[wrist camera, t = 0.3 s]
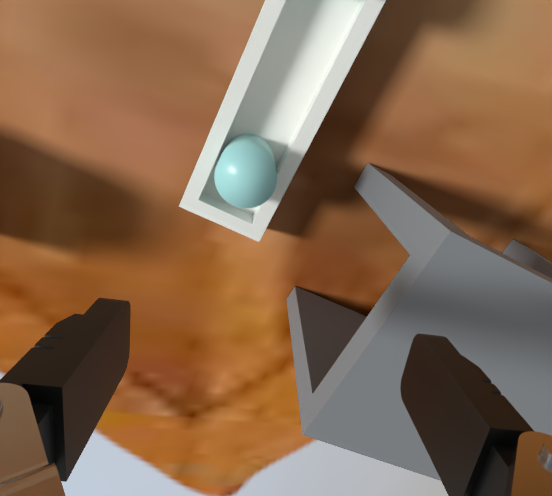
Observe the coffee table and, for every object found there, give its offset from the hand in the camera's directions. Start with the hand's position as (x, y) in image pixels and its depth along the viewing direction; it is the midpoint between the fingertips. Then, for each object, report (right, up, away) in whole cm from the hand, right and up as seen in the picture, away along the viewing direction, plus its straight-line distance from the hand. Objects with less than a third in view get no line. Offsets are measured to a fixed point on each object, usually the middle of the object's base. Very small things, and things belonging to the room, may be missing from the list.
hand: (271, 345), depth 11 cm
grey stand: (+11, 0, +22) cm, 24 cm away
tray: (+1, +15, +15) cm, 21 cm away
